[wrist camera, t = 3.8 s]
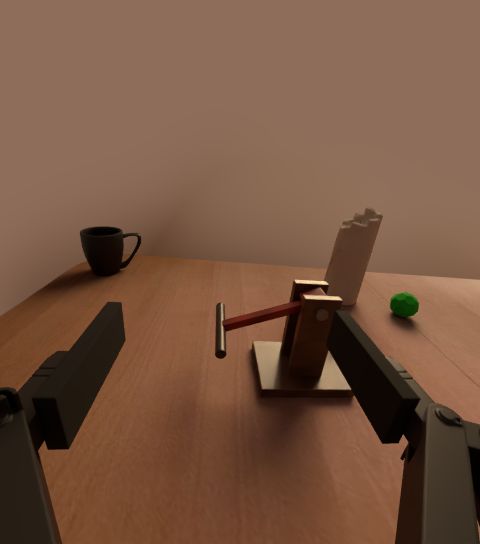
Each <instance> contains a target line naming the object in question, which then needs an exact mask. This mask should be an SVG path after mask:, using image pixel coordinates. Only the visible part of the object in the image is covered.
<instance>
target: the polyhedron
mask: <svg viewBox="0 0 480 544" xmlns="http://www.w3.org/2000/svg"><path fill="white" fill-rule="evenodd" d="M418 306H419V303H418V301H417V299H416V298H415V297H414V296H413V295H411V294H409V293H401V294H396V295H394V296H393V297H392V298H391V303H390V308H391V310H392V311H393V313H395V314H396V315H398V316H400V317H409V316H413V315H414V314H415V313H416V312H417V311H418Z"/></svg>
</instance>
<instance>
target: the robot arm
mask: <svg viewBox="0 0 480 544" xmlns="http://www.w3.org/2000/svg"><path fill="white" fill-rule="evenodd" d="M124 342H125V331H124V322H123V313H122V303H121V302H107V303H106V305H105V306H104V307H103V309H102V310H101V311H100V312H99V314H98V315H97V316H96V317H95V319H94V320H93V321H92V322H91V324H90V325H89V326H88V327H87V329H86V330H85V331H84V333H83V334H82V335H81V336H80V338H79V339H78V340H77V341H76V343H75V344H74V345H73V346H72V348H71V349H70V350H69V351H57V352H56V353H54V354H53V355H51V356H50V357H48V358H47V359H46V360H45V361H44V362H43V363H42V365H41V366H40V367H39V369H37V370H36V371H35V373H34V374H33V375H32V377H30V378H29V380H28V381H27V382H26V383H25V384H24V385H23V386H22V388H21V389H20V390H19V391H18V392H17V391H16V390H15V389H14V388H10V387H4V388H0V544H62V541H61V537H60V533H59V530H58V526H57V522H56V518H55V514H54V510H53V506H52V502H51V499H50V495H49V491H48V487H47V483H46V479H45V475H44V471H43V467H42V464H41V460H40V456H39V453H38V450H39V448H40V447H41V445H42V444H43V442H44V440H45V442H46V446H47V449H48V450H56V449H69V448H70V446H71V444H72V442H73V440H74V438H75V436H76V434H77V432H78V431H79V429H80V427H81V425H82V423H83V421H84V419H85V417H86V415H87V413H88V411H89V409H90V408H91V406H92V404H93V402H94V400H95V398H96V396H97V394H98V392H99V390H100V388H101V386H102V385H103V383H104V381H105V379H106V377H107V375H108V373H109V371H110V369H111V367H112V365H113V363H114V362H115V360H116V358H117V356H118V354H119V352H120V350H121V348H122V346H123V344H124ZM326 347H327V348H328V350H329V352H330V354H331V355H332V357H333V359H334V361H335V362H336V364H337V366H338V367H339V369H340V371H341V373H342V374H343V376H344V378H345V380H346V381H347V383H348V385H349V387H350V388H351V390H352V392H353V394H354V395H355V397H356V399H357V401H358V402H359V404H360V406H361V407H362V409H363V411H364V413H365V414H366V416H367V418H368V420H369V421H370V423H371V425H372V427H373V428H374V430H375V432H376V434H377V435H378V437H379V439H380V440H381V442H382V444H390V443H399V441H400V439H401V437H402V435H403V434H404V436H405V437H406V439H407V440H408V442H409V443H408V445H407V446H406V448H405V450H404V452H403V454H402V456H401V458H400V459H401V460H404V458H405V461H404V470H403V478H402V487H401V496H400V504H399V513H398V522H397V531H396V539H395V544H480V541H479V532H478V524H477V520H478V523H479V526H480V425H479V424H476V423H472V422H468V421H464V420H462V418H461V417H460V416H459V415H458V414H457V413H455V412H454V411H453V410H451V409H449V408H448V407H446V406H444V405H441V404H437V403H435V402H434V401H433V400H432V399H431V398H430V397H429V396H428V395H427V393H426V392H425V391H424V390H423V389H422V388H421V387H420V386H419V384H418V383H417V382H416V381H415V380H413V378H412V377H411V375H410V374H409V373H407V371H406V370H405V369H404V368H403V366H402V365H401V364H400V363H398V362H397V361H396V360H394V359H393V358H391V357H385V356H384V355H383V354H382V352H381V351H380V350H379V349H378V348H377V346H376V345H375V344H374V343H373V342H372V341H371V339H370V338H369V337H368V336H367V335H366V333H365V332H364V331H363V330H362V329H361V328H360V326H359V325H358V324H357V323H356V322H355V320H354V319H353V318H352V317H351V316H350V314H349V313H348V312H347V311H335V313H334V316H333V320H332V324H331V327H330V331H329V335H328V338H327V342H326Z"/></svg>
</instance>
